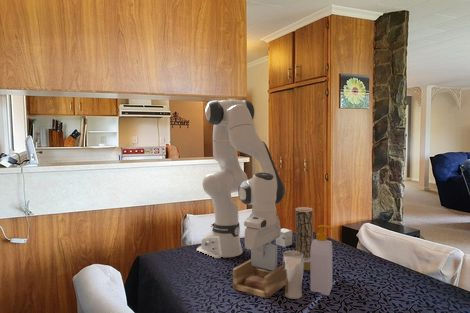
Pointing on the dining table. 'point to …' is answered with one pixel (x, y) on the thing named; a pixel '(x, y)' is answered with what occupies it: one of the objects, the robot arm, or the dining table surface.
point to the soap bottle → (321, 263)
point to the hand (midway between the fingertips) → (263, 255)
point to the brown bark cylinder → (304, 233)
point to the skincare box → (285, 238)
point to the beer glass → (293, 273)
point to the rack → (271, 279)
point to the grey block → (265, 257)
